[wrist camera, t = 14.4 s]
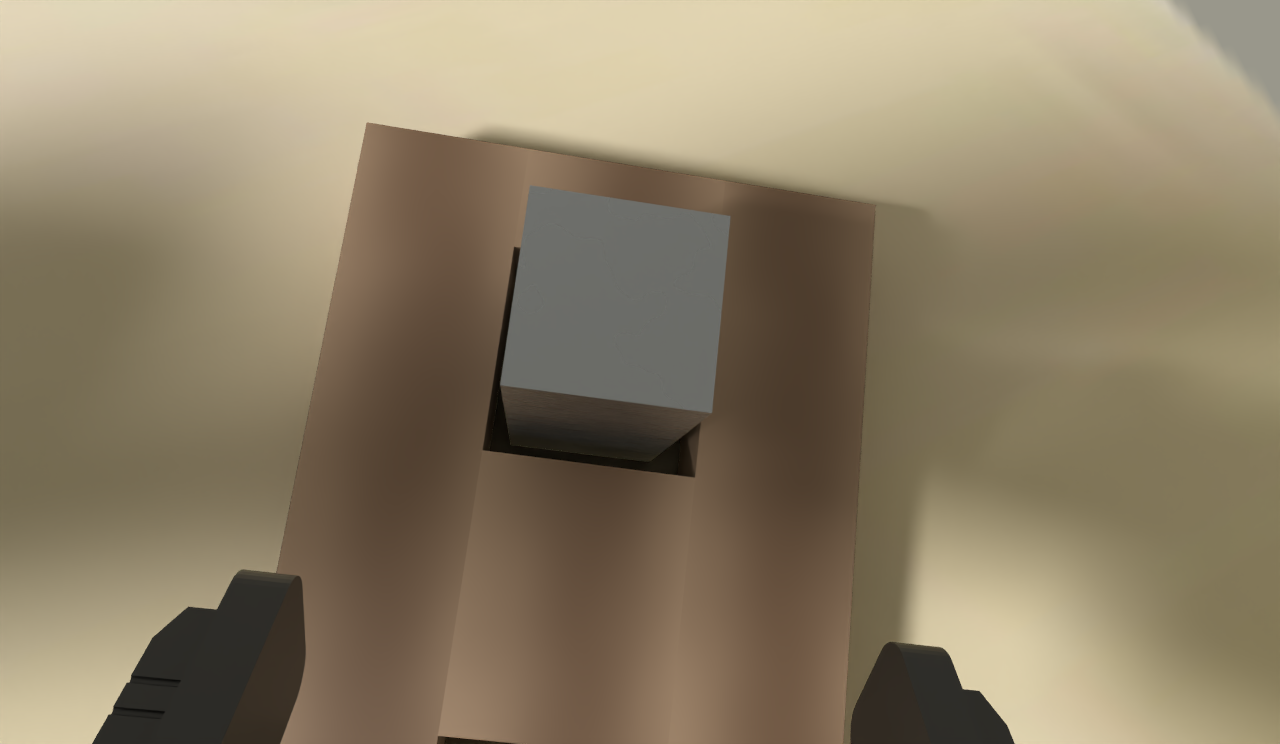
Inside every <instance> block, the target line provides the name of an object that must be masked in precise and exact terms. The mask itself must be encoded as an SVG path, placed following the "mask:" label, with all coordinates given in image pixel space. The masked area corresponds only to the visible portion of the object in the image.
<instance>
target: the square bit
mask: <svg viewBox="0 0 1280 744" xmlns="http://www.w3.org/2000/svg"><path fill="white" fill-rule="evenodd" d="M730 217H731V216H727V215H721V214H714V213H708V212H701V211H695V210H688V209H682V208H675V207H669V206H662V205H656V204H649V203H643V202H636V201H630V200H623V199H617V198H610V197H604V196H597V195H591V194H584V193H578V192H571V191H565V190H558V189H552V188H545V187H539V186H532V185H530V188H529V194H528V201H527V208H526V215H525V221H524V228H523V235H522V242H521V248H520V255H519V262H518V268H517V275H516V282H515V289H514V295H513V302H512V309H511V316H510V322H509V329H508V336H507V342H506V349H505V356H504V363H503V369H502V376H501V383H500V387H501V393H502V398H503V404H504V410H505V416H506V421H507V427H508V433H509V438H510V444H511V445H515V446H523V447H531V448H539V449H547V450H555V451H563V452H571V453H579V454H587V455H595V456H603V457H611V458H619V459H627V460H635V461H643V462H650V461H652V460H653V459H654V458H656V457H657V456H658V455H659V454H661V453H662V452H663V451H664V450H666V449H667V448H668V447H670V446H671V445H672V444H673V443H675V442H676V441H677V440H678V439H680V438H681V437H682V436H683V435H685V434H686V433H687V432H689V431H690V430H691V429H692V428H694V427H695V426H696V425H697V424H699V423H700V422H701V421H703V420H704V419H705V418H706V417H708V416H709V415H710V414H711V413H712V408H713V397H714V386H715V376H716V365H717V355H718V344H719V334H720V323H721V312H722V302H723V291H724V281H725V270H726V259H727V249H728V238H729V228H730Z"/></svg>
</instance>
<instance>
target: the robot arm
mask: <svg viewBox="0 0 1280 744" xmlns="http://www.w3.org/2000/svg"><path fill="white" fill-rule="evenodd" d="M305 658H306V642H305V623H304V604H303V586H302V580H301V577H300V576H297V575H288V574H278V573H269V572H260V571H251V570H240V571H239V572H238V573H237V574H236V575H235V576H234V578H233V580H232V581H231V583H230V585H229V587H228V589H227V591H226V593H225V595H224V597H223V599H222V601H221V603H220V605H219V607H218V609H217V610H214V609H204V608H195V607H188V608H186V609H185V610H184V611H183V612H182V613H181V614H179V615H178V616H177V617H176V618H175V619H174V620H173V621H171V622H170V623H169V624H168V625H167V626H166V627H164V628H163V629H162V630H161V631H160V632H159V633H158V634H156V635H155V636H154V637H153V638H152V640H151V642H150V643H149V645H148V647H147V649H146V650H145V652H144V654H143V656H142V657H141V659H140V661H139V663H138V664H137V666H136V668H135V670H134V671H133V673H132V675H131V680H130V682H129V683H127V684H126V685H125V687H124V689H123V691H122V692H121V694H120V696H119V698H118V699H117V701H116V703H115V705H114V706H113V707H114V708H113V712H112V714H111V715H108V717H107V719H106V720H105V722H104V724H103V726H102V727H101V729H100V731H99V733H98V734H97V736H96V738H95V740H94V741H93V743H92V744H280V743H281V740H282V738H283V735H284V732H285V730H286V727H287V724H288V721H289V719H290V716H291V713H292V711H293V708H294V705H295V703H296V700H297V697H298V694H299V690H300V686H301V682H302V678H303V673H304V667H305ZM851 744H1014V741H1013V739H1012V736H1011V734H1010V731H1009V729H1008V727H1007V725H1006V723H1005V722H1004V721H1003V720H1002V719H1001V717H1000V716H999V715H998V714H997V712H996V711H995V710H994V709H993V707H992V706H991V705H990V704H989V702H988V701H987V700H986V699H985V697H984V696H983V695H982V694H981V693H980V691H974V690H964V689H962V686H961V684H960V681H959V678H958V676H957V673H956V670H955V668H954V665H953V663H952V660H951V658H950V656H949V654H948V653H947V652H946V651H945V650H944V649H943V648H940V647H933V646H923V645H914V644H905V643H896V642H889V643H887V644H886V645H885V646H884V647H883V649H882V651H881V653H880V655H879V657H878V659H877V661H876V663H875V666H874V668H873V670H872V672H871V674H870V676H869V678H868V680H867V682H866V684H865V687H864V689H863V691H862V693H861V695H860V697H859V699H858V701H857V703H856V706H855V708H854V711H853V715H852V721H851Z"/></svg>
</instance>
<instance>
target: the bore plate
mask: <svg viewBox="0 0 1280 744" xmlns="http://www.w3.org/2000/svg"><path fill="white" fill-rule="evenodd" d="M530 185H532V186H539V187H545V188H552V189H558V190H565V191H571V192H578V193H584V194H591V195H597V196H604V197H610V198H617V199H623V200H630V201H636V202H643V203H649V204H656V205H662V206H669V207H675V208H682V209H688V210H695V211H701V212H708V213H714V214H721V215H727V216H731V217H730V228H729V238H728V249H727V259H726V270H725V281H724V291H723V302H722V312H721V323H720V334H719V344H718V355H717V365H716V376H715V386H714V397H713V408H712V413H711V414H710V415H709V416H708V417H706V418H705V419H704V420H703V421H701V422H700V423H699V424H697V425H696V426H695V427H694V428H692V429H691V430H690V431H689V432H687V433H686V434H685V435H683V436H682V437H681V446H680V455H679V465H678V474H677V475H671V474H663V473H655V472H647V471H640V470H632V469H624V468H616V467H609V466H601V465H593V464H585V463H578V462H570V461H562V460H554V459H547V458H539V457H531V456H523V455H516V454H508V453H500V452H492V451H490V446H491V439H492V433H493V426H494V420H495V413H496V407H497V400H498V394H499V387H500V381H501V374H502V368H503V361H504V355H505V348H506V342H507V335H508V329H509V322H510V316H511V309H512V302H513V295H514V289H515V282H516V275H517V268H518V262H519V255H520V248H521V242H522V235H523V228H524V221H525V215H526V208H527V201H528V194H529V188H530ZM875 206H876V205H872V204H866V203H860V202H854V201H848V200H842V199H835V198H829V197H823V196H817V195H811V194H805V193H798V192H792V191H786V190H780V189H774V188H768V187H761V186H755V185H749V184H743V183H737V182H731V181H724V180H718V179H712V178H706V177H700V176H694V175H687V174H681V173H675V172H669V171H663V170H657V169H650V168H644V167H638V166H632V165H626V164H619V163H613V162H607V161H601V160H595V159H589V158H582V157H576V156H570V155H564V154H558V153H552V152H545V151H539V150H533V149H527V148H521V147H515V146H508V145H502V144H496V143H490V142H484V141H478V140H471V139H465V138H459V137H453V136H447V135H441V134H434V133H428V132H422V131H416V130H410V129H404V128H397V127H391V126H385V125H379V124H373V123H367V124H366V129H365V134H364V139H363V144H362V149H361V154H360V159H359V164H358V169H357V174H356V179H355V184H354V189H353V194H352V199H351V204H350V209H349V214H348V219H347V224H346V229H345V234H344V239H343V244H342V249H341V254H340V259H339V264H338V268H337V273H336V278H335V283H334V288H333V293H332V298H331V303H330V308H329V313H328V318H327V323H326V328H325V333H324V338H323V343H322V348H321V353H320V358H319V363H318V368H317V373H316V378H315V383H314V388H313V393H312V398H311V403H310V408H309V413H308V418H307V423H306V428H305V433H304V438H303V443H302V448H301V453H300V458H299V463H298V467H297V472H296V477H295V482H294V487H293V492H292V497H291V502H290V507H289V512H288V517H287V522H286V527H285V532H284V537H283V542H282V547H281V552H280V557H279V562H278V567H277V572H276V573H278V574H288V575H297V576H300V577H301V580H302V586H303V604H304V623H305V642H306V658H305V667H304V673H303V678H302V682H301V686H300V690H299V694H298V697H297V700H296V703H295V705H294V708H293V711H292V713H291V716H290V719H289V721H288V724H287V727H286V730H285V732H284V735H283V738H282V740H281V743H280V744H445V739H446V737H455V738H465V739H476V740H486V741H496V742H506V743H517V744H843V739H844V722H845V705H846V689H847V672H848V655H849V639H850V622H851V606H852V589H853V572H854V556H855V539H856V522H857V506H858V489H859V472H860V456H861V439H862V423H863V406H864V389H865V373H866V356H867V339H868V323H869V306H870V289H871V273H872V256H873V240H874V223H875Z"/></svg>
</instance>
